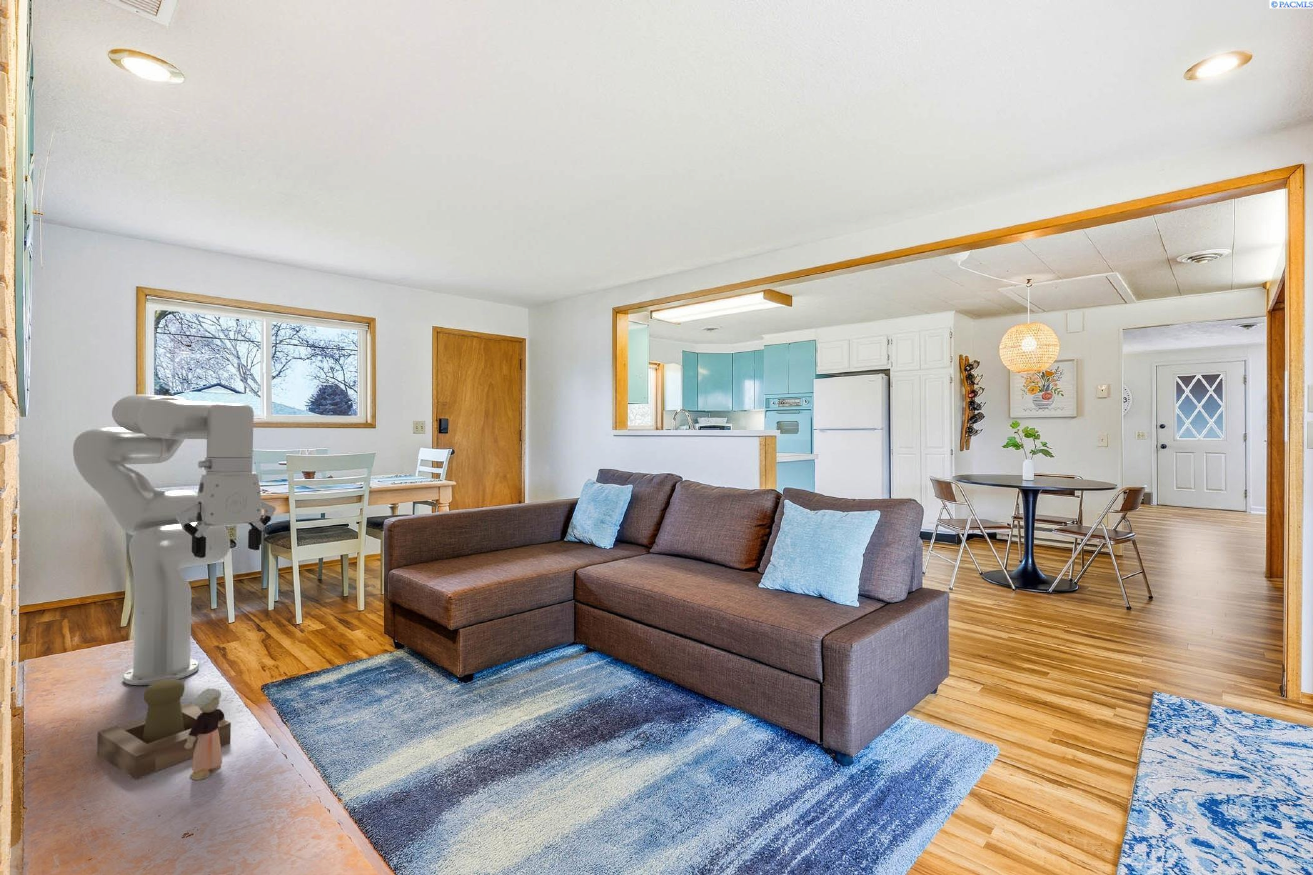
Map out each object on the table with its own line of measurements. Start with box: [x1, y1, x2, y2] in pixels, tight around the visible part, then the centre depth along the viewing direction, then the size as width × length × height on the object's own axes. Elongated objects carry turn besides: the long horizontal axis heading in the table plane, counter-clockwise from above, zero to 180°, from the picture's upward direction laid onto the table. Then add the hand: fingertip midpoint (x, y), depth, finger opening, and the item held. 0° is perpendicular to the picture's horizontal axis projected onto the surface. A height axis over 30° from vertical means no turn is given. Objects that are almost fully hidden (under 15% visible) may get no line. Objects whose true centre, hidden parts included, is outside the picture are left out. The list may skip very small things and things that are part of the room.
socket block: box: [96, 702, 232, 780], centre depth 102 cm, size 14×13×4 cm
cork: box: [142, 679, 185, 744], centre depth 102 cm, size 6×6×11 cm
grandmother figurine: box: [185, 688, 227, 781], centre depth 96 cm, size 8×4×13 cm, turn 9°
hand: (227, 553), depth 122 cm, fingers open, 9 cm apart
